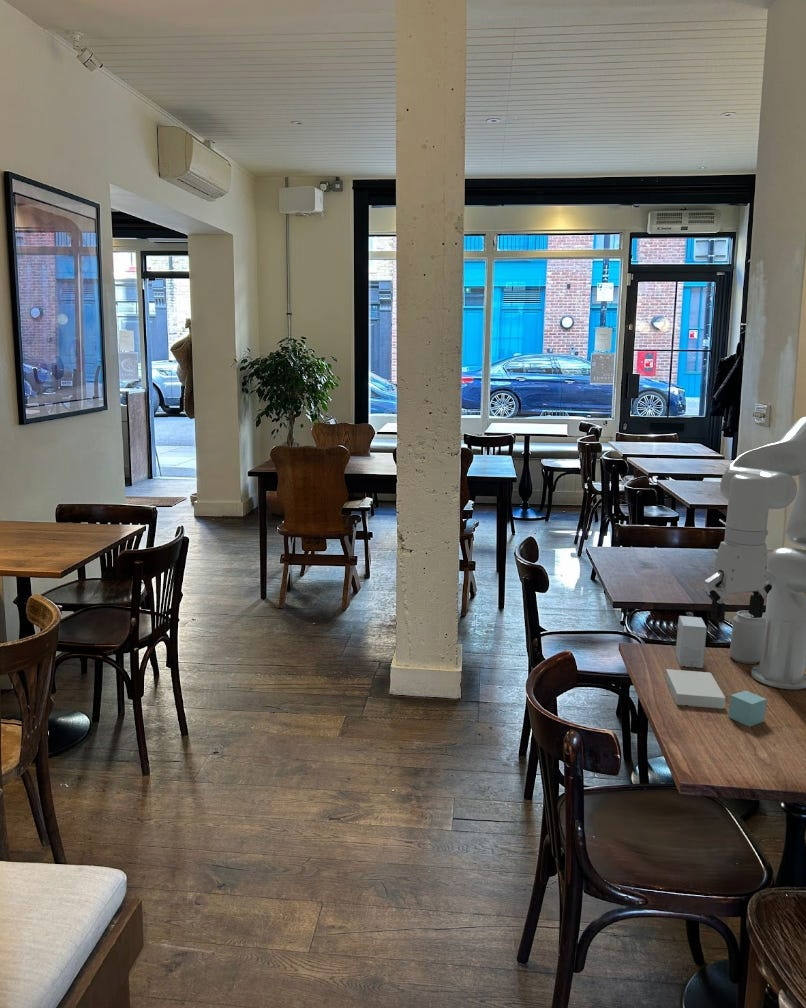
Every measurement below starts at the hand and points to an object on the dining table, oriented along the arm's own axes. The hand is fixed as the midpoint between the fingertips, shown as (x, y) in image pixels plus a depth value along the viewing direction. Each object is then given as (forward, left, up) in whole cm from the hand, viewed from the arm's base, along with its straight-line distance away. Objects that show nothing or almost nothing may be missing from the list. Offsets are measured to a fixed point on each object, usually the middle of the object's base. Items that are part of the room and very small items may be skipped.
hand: (736, 618), depth 166 cm
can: (-34, -19, -22) cm, 45 cm away
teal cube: (-4, +2, -22) cm, 23 cm away
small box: (-20, -25, -23) cm, 39 cm away
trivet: (-5, -12, -22) cm, 26 cm away
